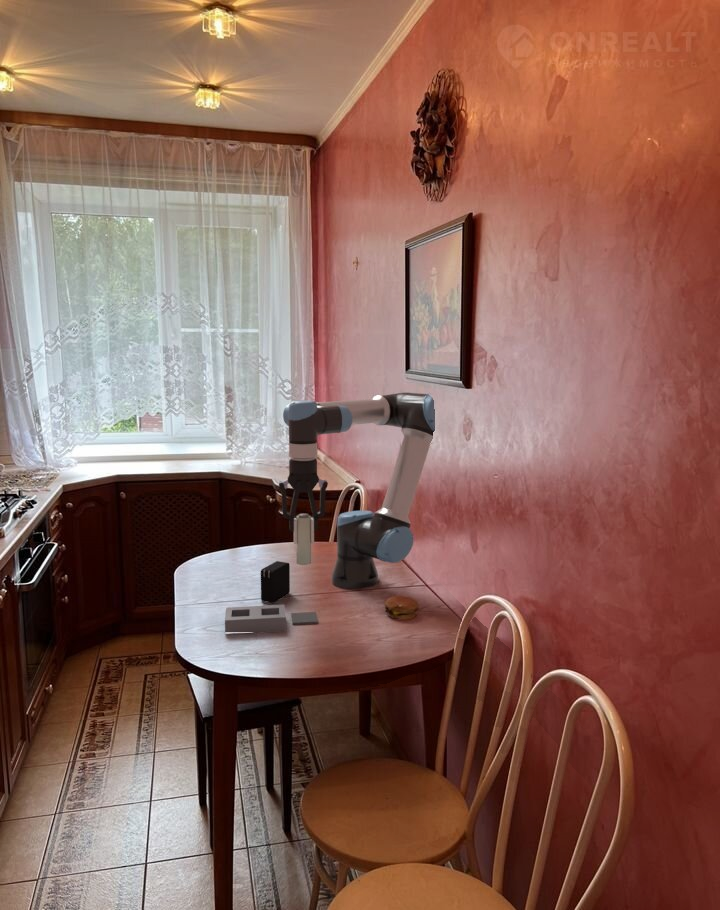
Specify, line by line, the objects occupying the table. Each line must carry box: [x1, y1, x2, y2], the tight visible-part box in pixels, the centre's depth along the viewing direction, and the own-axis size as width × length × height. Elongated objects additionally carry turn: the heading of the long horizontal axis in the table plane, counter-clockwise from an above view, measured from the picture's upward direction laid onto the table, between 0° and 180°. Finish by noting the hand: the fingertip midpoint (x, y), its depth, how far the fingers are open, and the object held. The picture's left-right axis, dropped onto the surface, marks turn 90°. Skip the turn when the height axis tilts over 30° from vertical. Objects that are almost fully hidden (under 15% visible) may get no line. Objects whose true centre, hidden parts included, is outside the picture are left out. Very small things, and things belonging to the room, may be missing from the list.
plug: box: [295, 513, 312, 566], centre depth 186 cm, size 4×4×14 cm
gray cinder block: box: [224, 604, 287, 633], centre depth 185 cm, size 16×9×4 cm, turn 99°
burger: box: [384, 595, 420, 621], centre depth 194 cm, size 10×9×5 cm
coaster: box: [290, 611, 319, 626], centre depth 190 cm, size 7×7×1 cm
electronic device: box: [260, 560, 291, 604], centre depth 206 cm, size 4×10×10 cm, turn 155°
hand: (303, 541), depth 186 cm, fingers closed on plug, 4 cm apart
